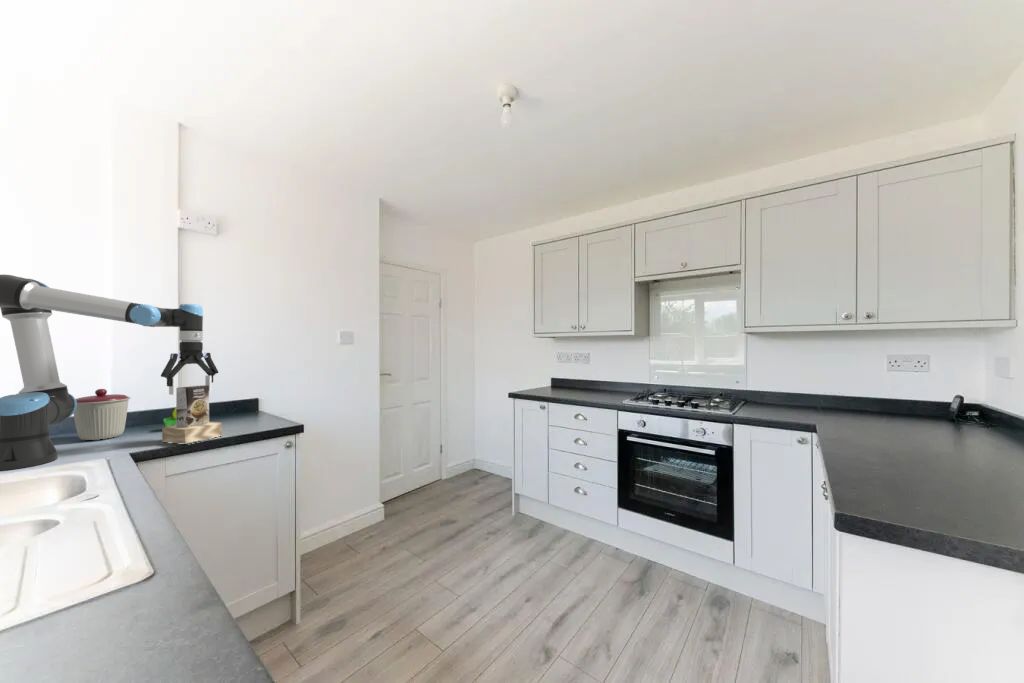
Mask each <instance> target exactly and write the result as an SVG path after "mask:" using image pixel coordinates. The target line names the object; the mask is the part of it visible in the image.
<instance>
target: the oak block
mask: <svg viewBox="0 0 1024 683" xmlns="http://www.w3.org/2000/svg"><path fill="white" fill-rule="evenodd" d="M222 424H223V423H222V422H217V421H209V423H206V424H202V425H197V426H192V427H177V426H176V425H174V426H168V427H166V426H164V427H162V428H161V430H162V434H161V436H162V438H161V441H162V443H163V442H172V443H189V442H193V441H198V440H203V439H209V438H214V437H218V436H223V430H222V429H223V428H222V426H223V425H222ZM218 438H219V437H218ZM214 439H215V438H214ZM172 443H171V444H172Z"/></svg>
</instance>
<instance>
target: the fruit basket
mask: <svg viewBox="0 0 1024 683" xmlns="http://www.w3.org/2000/svg"><path fill="white" fill-rule="evenodd" d="M163 424H164V425H165V426H164V427H168V426H174V425H176V407H175V408H174V409H173V411H172V416H169V417H166V418H163Z"/></svg>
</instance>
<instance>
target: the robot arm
mask: <svg viewBox="0 0 1024 683" xmlns="http://www.w3.org/2000/svg"><path fill="white" fill-rule="evenodd" d="M52 311H54V312H61V313H66V314H73V315H78V316H80V315H81V316H85V317H92V318H99V319H104V320H105V319H106V320H111V321H117V322H123V323H124V322H125V323H129V324H136V325H140V326H142V327H151V328H156V327H157V328H161V327H163V328H167V327H168V328H171V327H172V328H179V335H178V336H179V339H178V340H179V341H180V342H179V353H176V352H175V353H174V352H173V353H170V354H169V356H170V357H169V359H168V362H167V364H166V365H165V367H164V368H163V371H162V372H161V374H160V377H161V378H165V379H166V386H167V387H168V395H169V396H170V395H171V396H173V395H174V396H175V395H176V388H177V387H176V385H177V384H176V381H177V378H176V377H175V376H176V375H177V374H178V373H179V372H180V371H181V370H182V369H183V368H184V367H185V366H186V365H191V364H192V365H193V364H195V365H196V364H197V365H198V367H200V368H201V369H202V370H203V371H204V373H206V375H205V381H204V382H205V385H207V386H209V392H212V390H213V389H212V387H213V386H212V385H213V383H214V376H216V375H217V374H219V370H218V368H217V366H216V365H215V362H214V360H213V359H212V356H211V353H210V352H203V349H204V346H203V336H204V334H203V330H204V329H203V326H204V324H203V323H204V314H203V307H202V305H200V304H195V303H180V304H179V307H178V308H165V307H164V308H163V307H157V306H153V305H149V304H142V303H136V302H130V301H125V300H120V299H119V300H118V299H116V298H115V299H114V298H108V297H103V296H97V295H94V294H93V295H91V294H86V293H80V292H76V291H70V290H65V289H64V290H62V289H58V288H52V287H50V286H48V285H47V284H46V283H43V282H41V281H39V280H36V279H32V278H26V277H21V276H17V275H13V274H0V312H1V316H2V318H4V319H6V320H8V321H9V322H10V326H11V332H12V336H13V339H14V346H15V349H16V350H15V351H16V355H17V359H18V364H19V369H20V373H21V379H22V384H23V387H22V389H21V390H19V391H18V393H15V394H8V395H3V396H1V397H0V471H6V470H7V471H9V470H16V469H23V468H29V467H34V466H39V465H43V464H47V463H51V462H53V461H56V460H57V459H58V450H57V449H56V447H55V445H54V443H53V441H52V440H51V437H50V425H56V424H60V423H62V422H64V421H65V420H67V419H69V418H70V417H72V415H74V414H73V413H74V412H75V410H76V408H77V402H76V399H77V398H75V397H74V396H73V395H72V394H70V393H69V389H68V385H67V384H64V383H62V382H61V380H60V376H59V375H60V374H59V371H58V367H57V360H56V357H55V351H54V346H53V342H52V337H51V332H50V328H49V322H48V319H49V318H50V317H51V316H52V315H53V312H52ZM202 358H204V360H203V359H202ZM178 359H179V361H178V362H177V360H178ZM176 363H177V364H176ZM175 364H176V365H175Z"/></svg>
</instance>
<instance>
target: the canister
mask: <svg viewBox="0 0 1024 683" xmlns="http://www.w3.org/2000/svg"><path fill="white" fill-rule="evenodd" d="M107 393H108V391H107V389H105V388H98V389H96V390H95V391H94V394H95V395H89V396H83V397H82V396H81V397H78V398H75V399H76V402H77V408H76V410H75V412H74V413H73V414H72V415H73V418H74V425H75V429H76V433H77V436H78V437H79V439H80V440H81V441H85V440H94V441H101V440H100V439H103V440H107V438H109V439H113V437H114V438H118V437H120V436H122V435H123V433H124V431H125V428H126V424H127V422H126V421H127V415H128V407H129V400H131V398H132V397H131V396H128V395H125V394H120V393H119V394H117V393H116V394H115V393H114V394H107Z"/></svg>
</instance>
